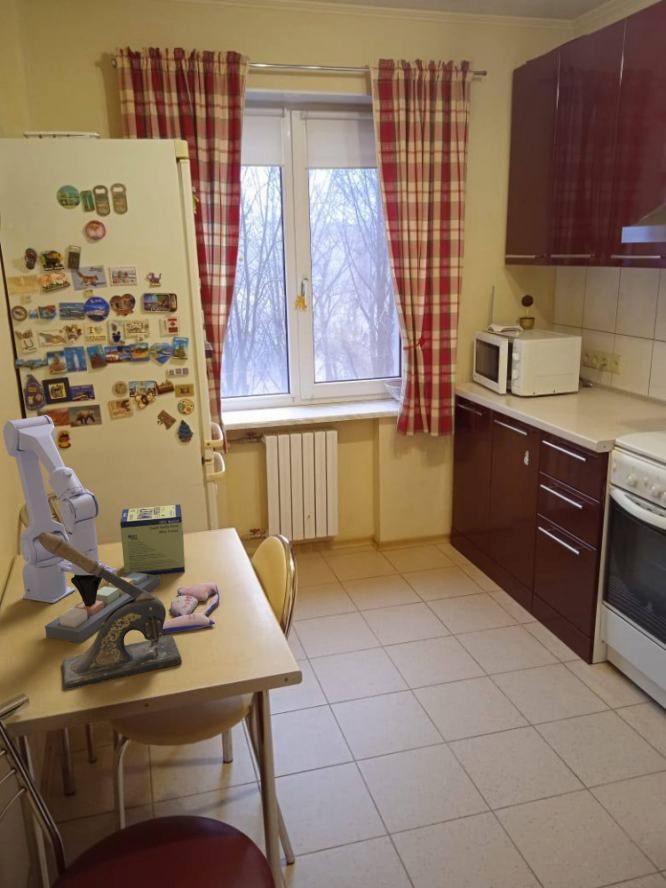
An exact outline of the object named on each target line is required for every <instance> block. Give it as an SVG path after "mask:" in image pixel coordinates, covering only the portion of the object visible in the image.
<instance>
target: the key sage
mask: <svg viewBox="0 0 666 888" xmlns="http://www.w3.org/2000/svg"><path fill="white" fill-rule="evenodd" d="M118 598H119V589H118V588H111V587H106V586H103V587H101V588H100V589H99V588H98V591H97V596H96V601H103V603H104V604H106V605H109V604H111V603H112V602H114V601H115V600H117V599H118Z"/></svg>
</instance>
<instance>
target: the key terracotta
mask: <svg viewBox="0 0 666 888" xmlns="http://www.w3.org/2000/svg"><path fill="white" fill-rule="evenodd" d="M77 608H79V609H85V610H87V615H90V616H93V615H95V614H96V613H98V612H99V611H101V610H102V609H104V603H103V601H96V603H95V604H93V605H92V606H90V607H89V606H85V604H84V603H82V604H81V605H79V606H78V607H77Z"/></svg>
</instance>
